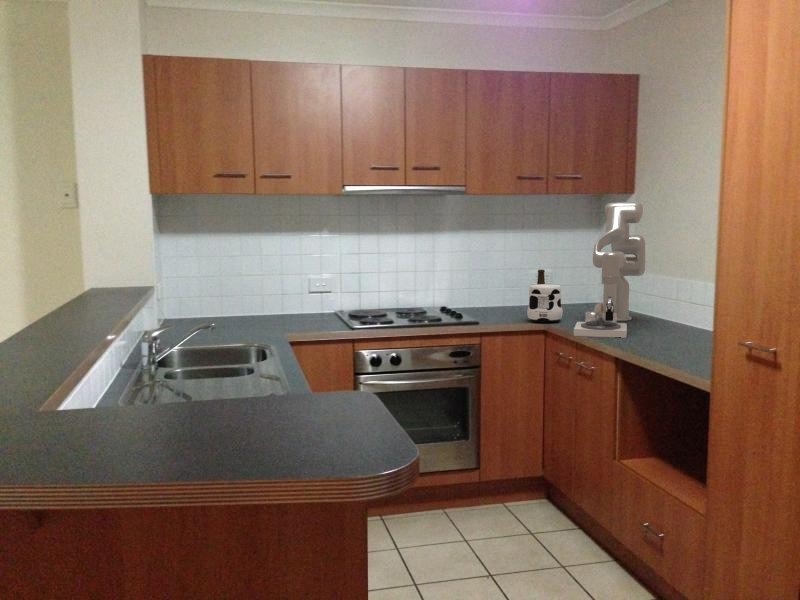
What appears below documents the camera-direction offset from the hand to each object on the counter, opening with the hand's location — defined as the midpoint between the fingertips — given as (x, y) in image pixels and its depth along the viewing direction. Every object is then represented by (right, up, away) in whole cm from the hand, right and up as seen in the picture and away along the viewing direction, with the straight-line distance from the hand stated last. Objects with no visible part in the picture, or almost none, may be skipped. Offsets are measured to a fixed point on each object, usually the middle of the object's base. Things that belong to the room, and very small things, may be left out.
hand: (609, 319), depth 301 cm
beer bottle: (-17, +1, +64) cm, 66 cm away
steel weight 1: (-7, -3, +3) cm, 8 cm away
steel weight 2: (0, -3, 0) cm, 3 cm away
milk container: (-20, -3, +39) cm, 44 cm away
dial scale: (-3, -6, +4) cm, 8 cm away
